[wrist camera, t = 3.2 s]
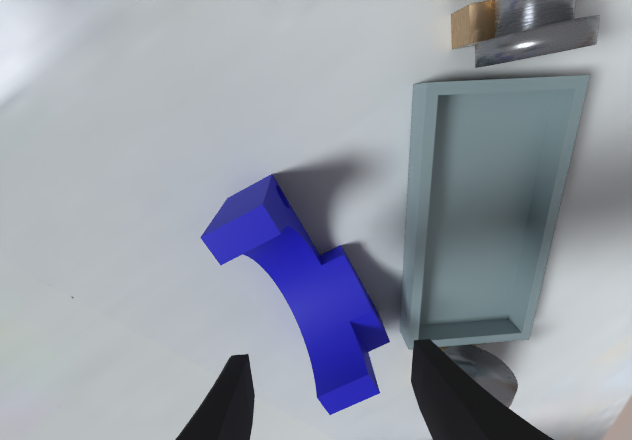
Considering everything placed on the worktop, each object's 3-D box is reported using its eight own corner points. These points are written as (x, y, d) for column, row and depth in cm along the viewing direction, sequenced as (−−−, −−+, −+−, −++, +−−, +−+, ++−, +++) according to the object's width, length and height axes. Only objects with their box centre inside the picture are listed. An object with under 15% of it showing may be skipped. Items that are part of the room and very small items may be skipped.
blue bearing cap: (378, 311, 23) (405, 381, 17) (321, 338, 23) (329, 414, 17) (294, 161, 19) (294, 187, 13) (228, 197, 19) (200, 237, 13)
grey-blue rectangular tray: (511, 321, 23) (529, 339, 22) (399, 330, 23) (408, 349, 21) (560, 77, 18) (590, 74, 16) (413, 84, 17) (427, 82, 16)
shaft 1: (425, 333, 23) (462, 398, 18) (483, 335, 24) (534, 399, 19) (412, 386, 25) (442, 459, 20) (466, 387, 25) (508, 458, 20)
